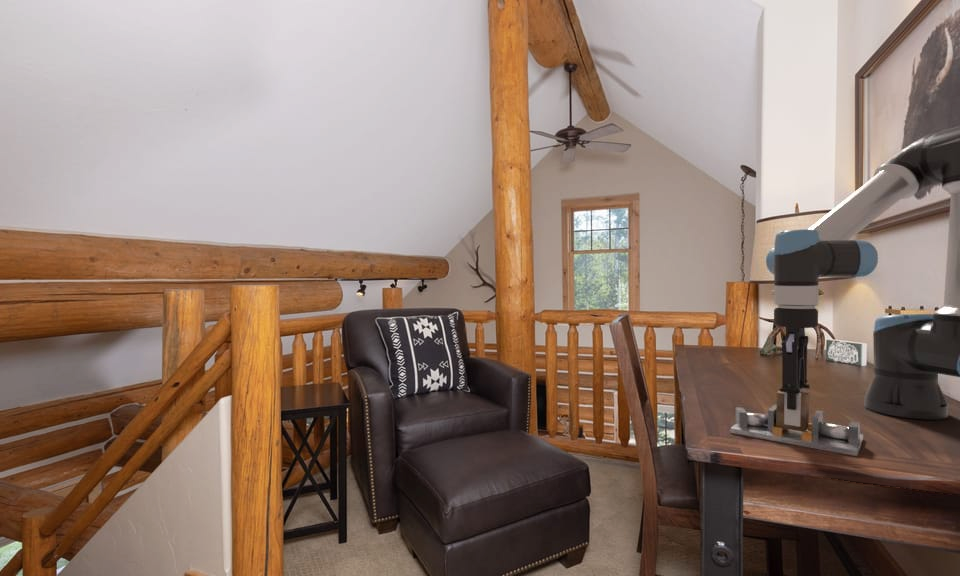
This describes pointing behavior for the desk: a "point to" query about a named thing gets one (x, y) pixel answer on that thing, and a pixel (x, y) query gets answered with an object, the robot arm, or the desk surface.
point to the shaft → (750, 419)
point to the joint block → (804, 412)
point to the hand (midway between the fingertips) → (794, 422)
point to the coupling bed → (809, 434)
